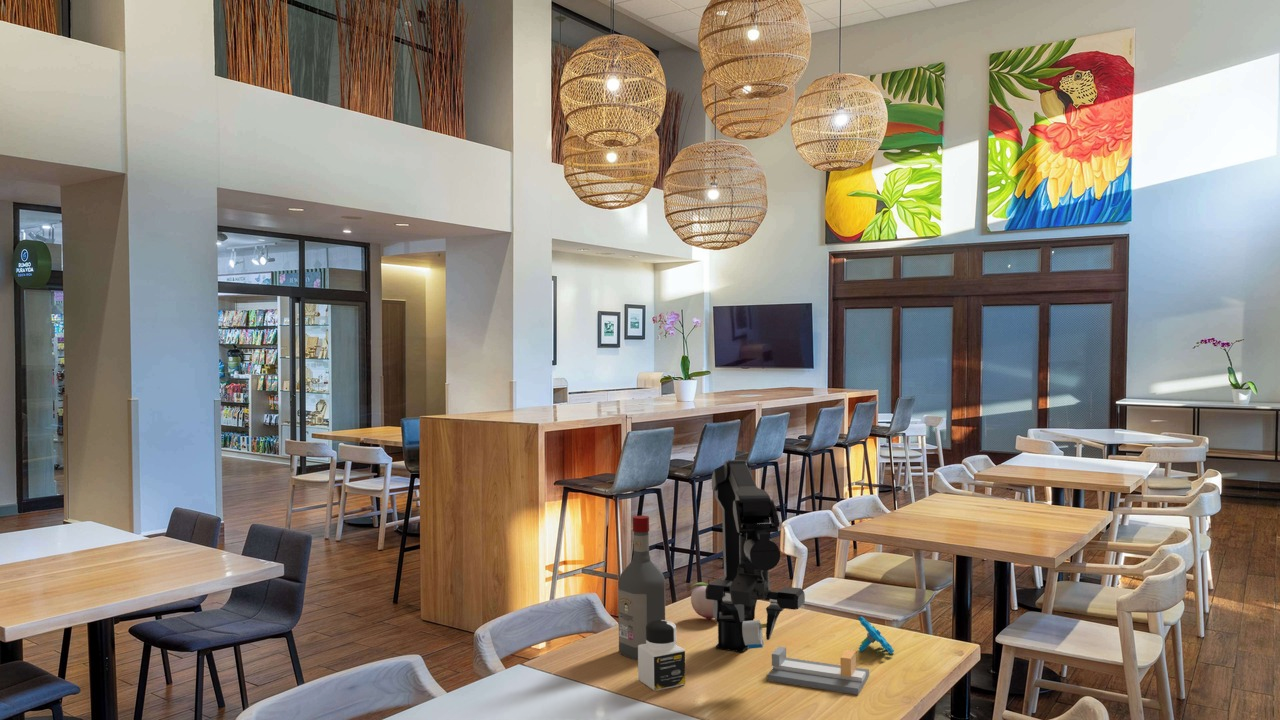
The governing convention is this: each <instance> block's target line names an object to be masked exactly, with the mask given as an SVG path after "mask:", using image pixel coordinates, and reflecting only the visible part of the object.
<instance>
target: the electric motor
mask: <svg viewBox="0 0 1280 720" xmlns="http://www.w3.org/2000/svg"><path fill="white" fill-rule="evenodd" d="M766 626H767V622H765V623H761V620H759V619H754V620H753V621H743V623H742V632H743V639H744V643H745V645H746V646H748V647H747V649H749V650H750V649H751V650H752V649H761V648H763V646H764V639H763V629H765V628H766Z"/></svg>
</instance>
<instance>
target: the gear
mask: <svg viewBox="0 0 1280 720" xmlns="http://www.w3.org/2000/svg"><path fill="white" fill-rule="evenodd" d="M857 620H858V621H859V623H860V624H861V626H863V628H865V630H866V632H867V634H866V637H865V638H864V639H863V640H862V641H861V642H860V644H861V645H860V646H859V647H858V650H859V651H860V652H861V653H862V652H863V651H865V650H866V649H867V648H868V647H869V646H870V644H874V643H875V642H876V643H879V644H880V646H881V647H882V648H883V649H884V650H886V651H887V652H888V653H889V654H893V653H894V652H895V649H894V648H893V646H892V645H891V644H890V643H889V642H888V641H887V640H886V638H885V637H884V636H883V635H882V633H881V631H880V629H877V628H876V627H875V626H874V625H872V624H871V623H870V621H868V620H866V619H865V617H863V616H862V615H861V616H859V617H858V618H857Z"/></svg>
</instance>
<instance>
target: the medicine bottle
mask: <svg viewBox="0 0 1280 720" xmlns="http://www.w3.org/2000/svg"><path fill="white" fill-rule="evenodd" d="M637 665H638V666H637V668H638V669H637V672H638V674H637V676H638V677H637V678H638V680H639V681H640V682H641V683H642V684H644V685H646V687H648V688H650V689H651V690H653V691H654V692H658V691H663V690H666V689H671V688H676V687H677V688H678V687H679V686H680V687H681V686H685V685H686V650H685V648H683V647H681V646H680V645H679V644H677V626H676V624H675V623H674V622H672V621H670V620H666V619H665V620H655V621H652V622H650V623H648V624H647V625H646V644H641V645H638V660H637Z"/></svg>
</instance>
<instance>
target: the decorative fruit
mask: <svg viewBox="0 0 1280 720" xmlns="http://www.w3.org/2000/svg"><path fill="white" fill-rule="evenodd" d="M707 581H708V582H707V583H706V582H704V581H703V582H701V581H700V582H696V583H694V584H692V585H691V586H690V588H693V587H694V588H693V589H692V592H691V595H690V602H691V603H690V604H691V606H692V609H693V610H694V612H695V613H696V614H697V615H698V616H700V617H703V618H704V619H707V620H708V619H710V620H713V619H715V618H714V616H713V604H714V600H709V599H706V592H705V590H706V587H707V586H708V585H709V584H710V583H711V582H710V579H708V580H707ZM719 613H721V612H719Z"/></svg>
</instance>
